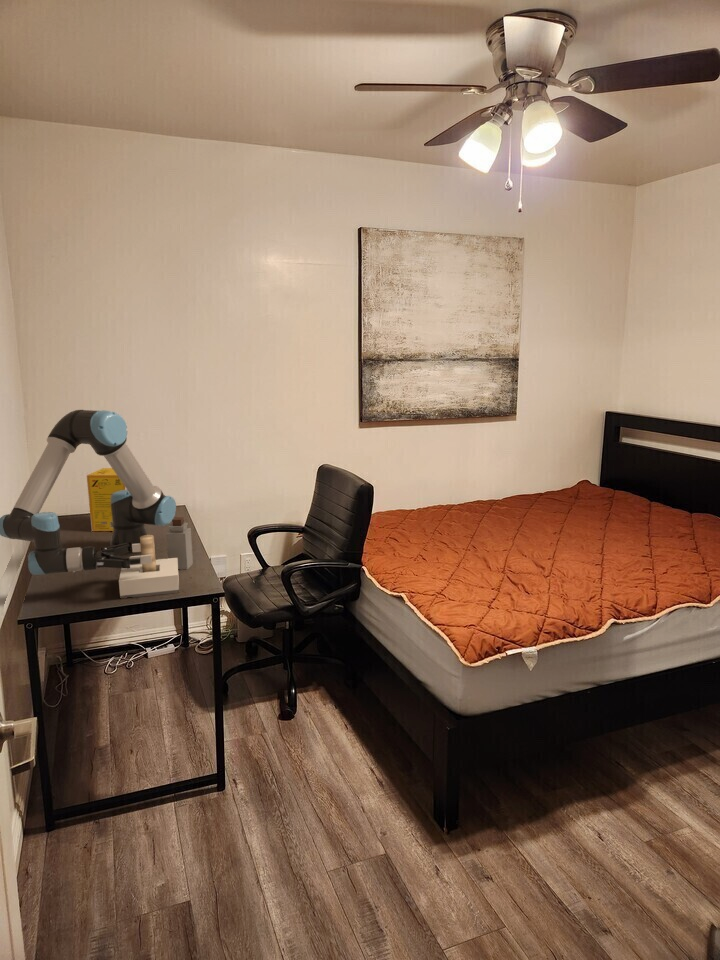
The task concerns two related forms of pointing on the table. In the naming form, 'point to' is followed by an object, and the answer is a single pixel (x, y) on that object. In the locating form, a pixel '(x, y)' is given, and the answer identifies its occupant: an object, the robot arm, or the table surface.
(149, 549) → the birch peg
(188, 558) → the perfume bottle
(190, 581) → the table surface
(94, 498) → the packaging box
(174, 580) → the socket block
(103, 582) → the table surface
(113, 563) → the robot arm
